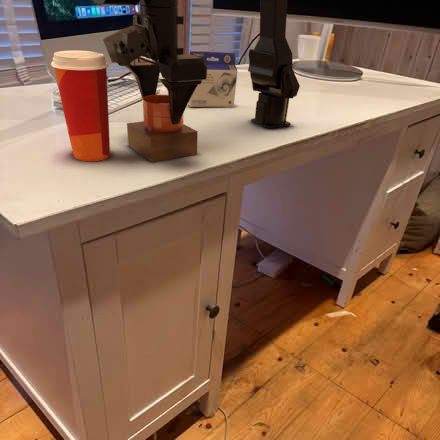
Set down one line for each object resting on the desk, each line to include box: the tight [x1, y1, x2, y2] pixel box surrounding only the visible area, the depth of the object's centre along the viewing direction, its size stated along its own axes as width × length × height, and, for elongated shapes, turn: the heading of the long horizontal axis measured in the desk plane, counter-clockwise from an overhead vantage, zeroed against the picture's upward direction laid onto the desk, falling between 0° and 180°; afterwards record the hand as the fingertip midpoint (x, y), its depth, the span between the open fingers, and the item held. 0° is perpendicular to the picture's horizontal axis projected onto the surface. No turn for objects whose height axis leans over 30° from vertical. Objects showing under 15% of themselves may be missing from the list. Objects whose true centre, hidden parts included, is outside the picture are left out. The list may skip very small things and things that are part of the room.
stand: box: [126, 120, 199, 163], centre depth 73 cm, size 9×9×4 cm
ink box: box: [187, 50, 238, 108], centre depth 98 cm, size 12×2×12 cm, turn 107°
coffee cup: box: [50, 49, 111, 162], centre depth 66 cm, size 8×8×15 cm
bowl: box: [142, 93, 184, 132], centre depth 71 cm, size 7×7×4 cm
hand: (161, 116), depth 71 cm, fingers open, 9 cm apart
